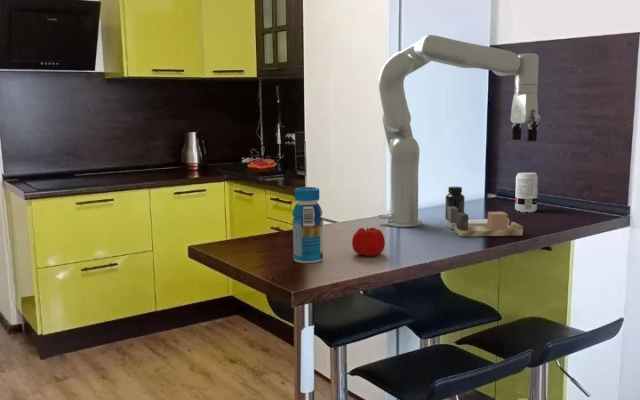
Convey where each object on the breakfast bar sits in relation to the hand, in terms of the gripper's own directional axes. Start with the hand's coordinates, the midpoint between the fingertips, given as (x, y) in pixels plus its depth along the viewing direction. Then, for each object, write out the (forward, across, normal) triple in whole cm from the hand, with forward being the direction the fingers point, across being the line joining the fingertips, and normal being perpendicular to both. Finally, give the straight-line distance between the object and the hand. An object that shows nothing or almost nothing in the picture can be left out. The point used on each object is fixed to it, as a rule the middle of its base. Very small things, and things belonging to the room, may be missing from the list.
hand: (524, 140), depth 218 cm
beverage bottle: (+30, +31, -84) cm, 94 cm away
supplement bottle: (+30, -15, -18) cm, 38 cm away
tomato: (+30, +29, -66) cm, 79 cm away
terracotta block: (+28, +14, -17) cm, 35 cm away
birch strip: (+29, +14, -20) cm, 38 cm away
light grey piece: (+29, +1, -18) cm, 34 cm away
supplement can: (+30, -23, +16) cm, 41 cm away
